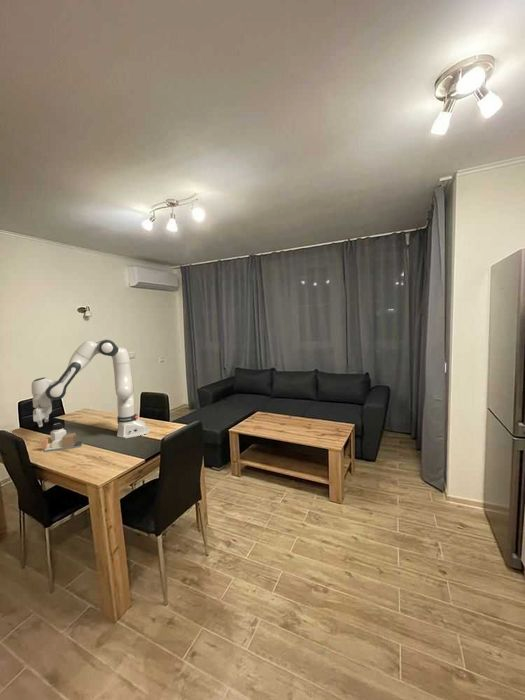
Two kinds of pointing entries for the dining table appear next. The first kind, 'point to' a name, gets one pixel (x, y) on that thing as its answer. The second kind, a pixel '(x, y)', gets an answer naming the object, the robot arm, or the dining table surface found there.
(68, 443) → the tunnel board
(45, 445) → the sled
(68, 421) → the dining table surface
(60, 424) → the medicine bottle
